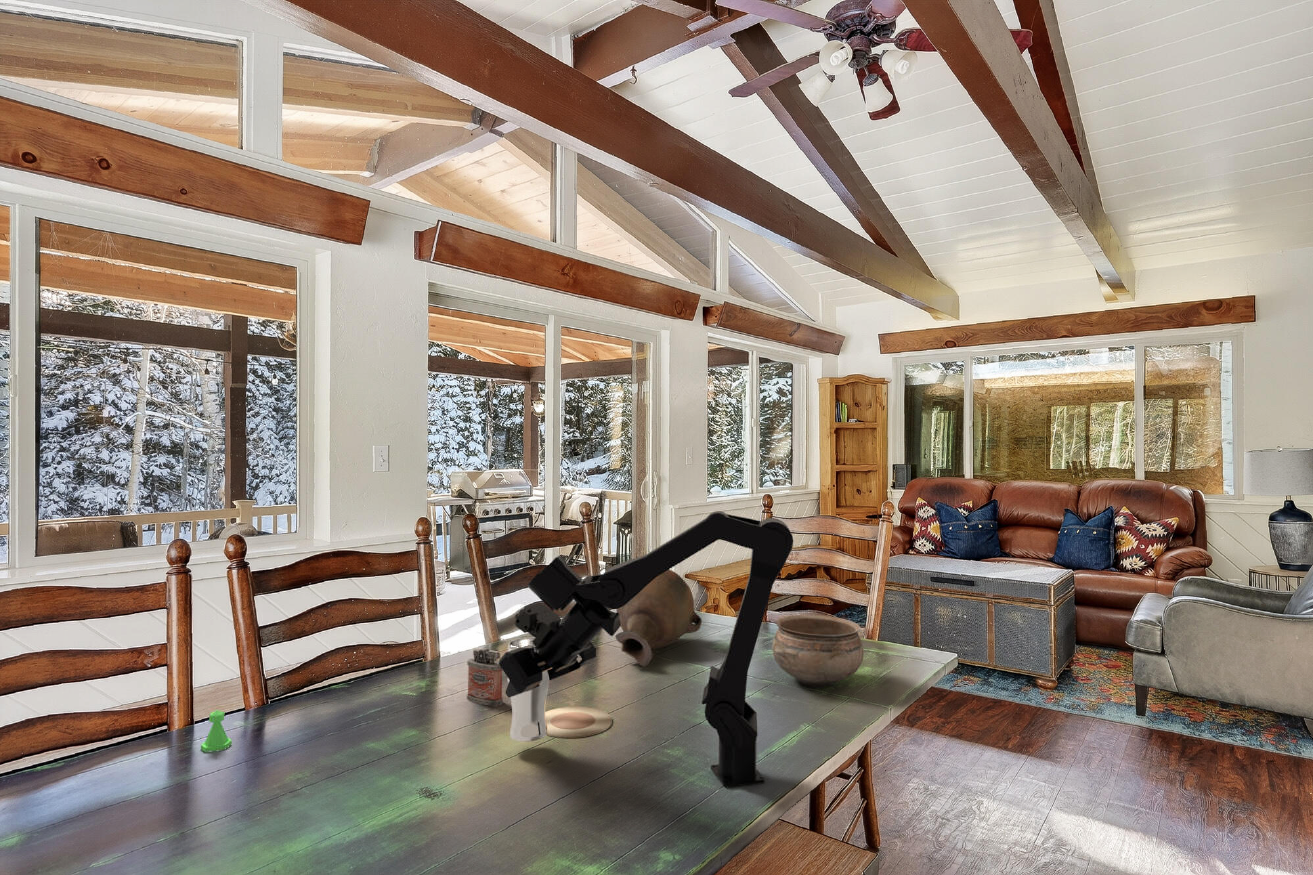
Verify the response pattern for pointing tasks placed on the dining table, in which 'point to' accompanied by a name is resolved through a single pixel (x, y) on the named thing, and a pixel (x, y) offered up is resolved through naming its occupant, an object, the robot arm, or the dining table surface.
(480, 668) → the lighter
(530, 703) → the silver tall cup
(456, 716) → the dining table surface
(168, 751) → the dining table surface
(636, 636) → the jug
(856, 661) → the cooking pot
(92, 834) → the dining table surface
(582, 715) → the coaster
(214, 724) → the game piece
